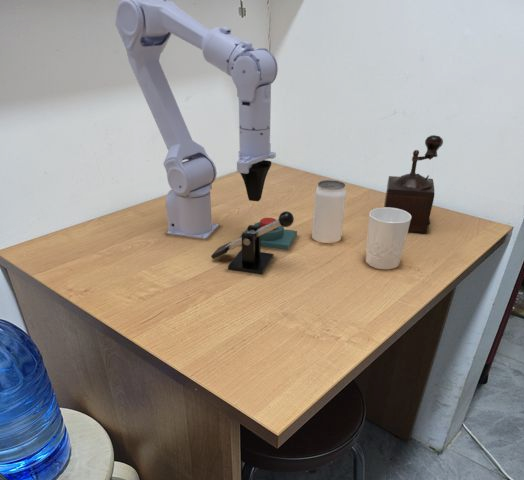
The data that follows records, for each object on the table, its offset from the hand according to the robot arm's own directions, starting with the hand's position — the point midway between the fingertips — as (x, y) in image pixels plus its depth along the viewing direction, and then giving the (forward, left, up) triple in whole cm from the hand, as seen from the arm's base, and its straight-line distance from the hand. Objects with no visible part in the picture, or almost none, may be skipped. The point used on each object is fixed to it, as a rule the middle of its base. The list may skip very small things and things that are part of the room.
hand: (254, 199), depth 97 cm
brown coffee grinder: (+30, +26, -11) cm, 41 cm away
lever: (+3, -8, -5) cm, 10 cm away
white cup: (+27, +1, -11) cm, 29 cm away
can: (+14, +9, -11) cm, 20 cm away
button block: (+2, +4, -10) cm, 11 cm away
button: (+2, +5, -8) cm, 9 cm away
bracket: (+2, -8, -10) cm, 13 cm away
